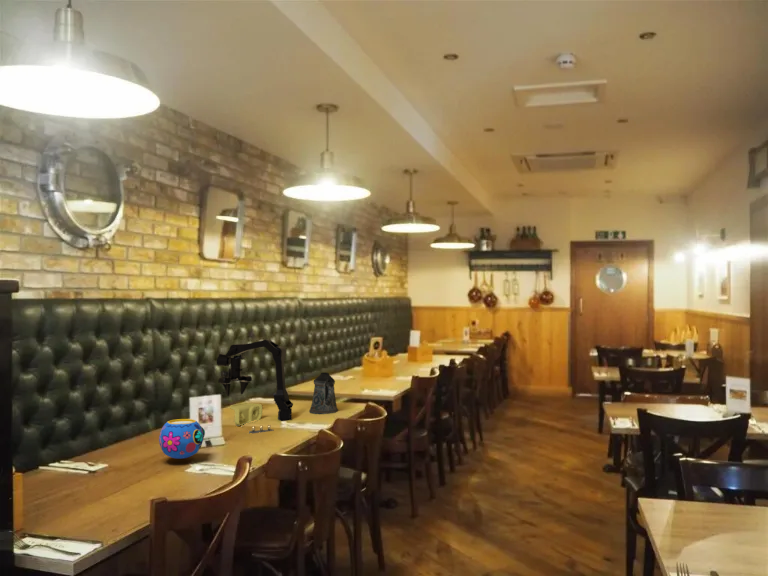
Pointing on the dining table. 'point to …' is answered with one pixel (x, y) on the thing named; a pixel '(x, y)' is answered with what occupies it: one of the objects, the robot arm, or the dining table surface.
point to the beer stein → (324, 395)
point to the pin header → (260, 429)
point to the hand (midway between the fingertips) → (234, 395)
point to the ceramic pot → (181, 438)
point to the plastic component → (247, 412)
